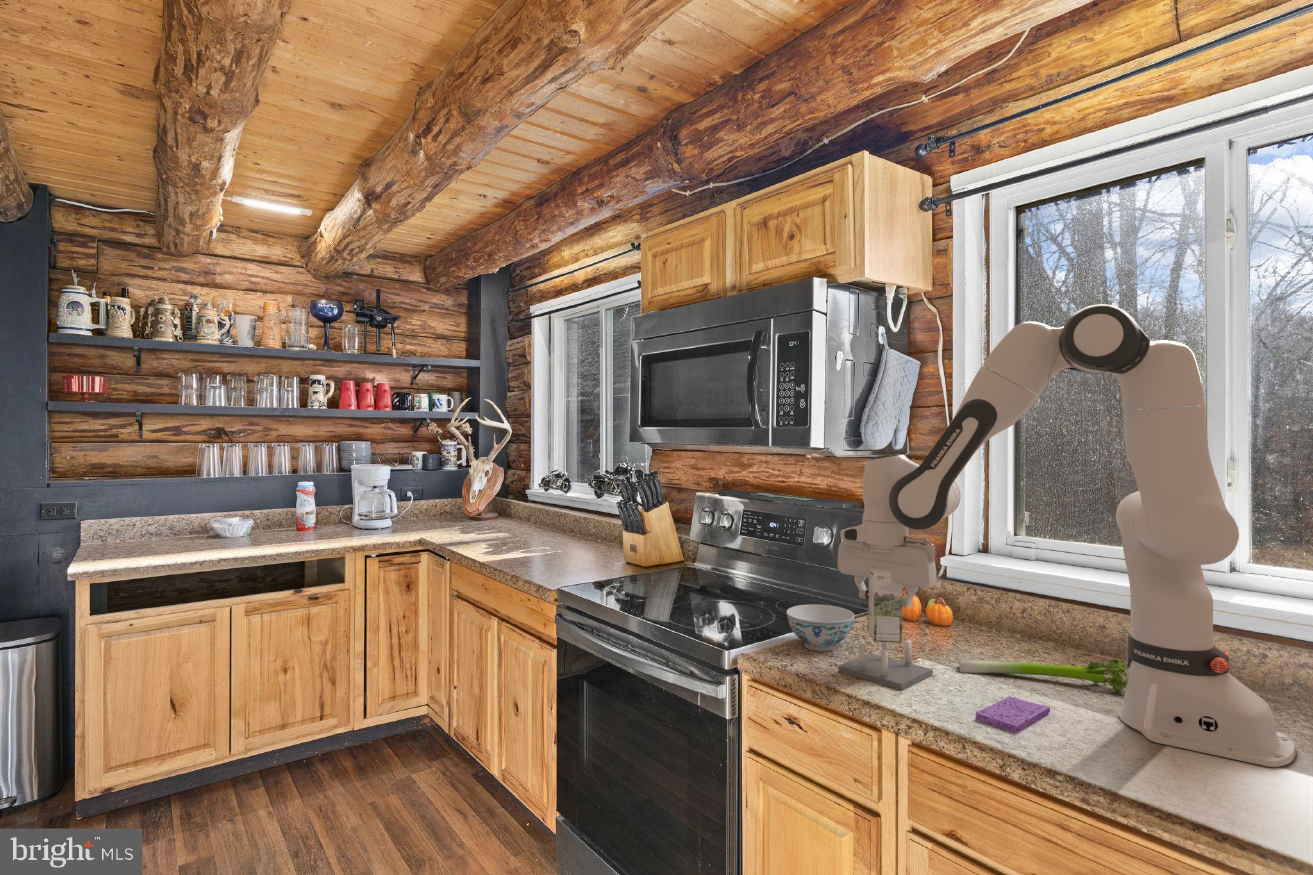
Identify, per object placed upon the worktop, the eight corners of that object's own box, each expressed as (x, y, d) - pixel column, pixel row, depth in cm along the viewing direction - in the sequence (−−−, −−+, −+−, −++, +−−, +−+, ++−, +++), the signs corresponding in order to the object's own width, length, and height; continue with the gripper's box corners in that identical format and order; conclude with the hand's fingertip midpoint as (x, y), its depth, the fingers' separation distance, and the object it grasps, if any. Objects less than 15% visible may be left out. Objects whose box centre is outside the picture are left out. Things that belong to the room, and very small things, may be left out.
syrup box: (896, 635, 144) (896, 564, 144) (903, 643, 138) (902, 570, 138) (868, 634, 144) (867, 564, 144) (873, 642, 138) (873, 569, 138)
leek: (960, 674, 147) (1130, 683, 134) (960, 690, 140) (1138, 701, 128) (958, 646, 146) (1128, 653, 134) (957, 661, 140) (1136, 669, 127)
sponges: (975, 722, 119) (975, 711, 119) (1009, 704, 127) (1009, 694, 127) (1017, 736, 114) (1017, 725, 114) (1050, 716, 121) (1050, 705, 121)
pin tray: (932, 675, 140) (932, 644, 140) (902, 690, 132) (902, 658, 132) (869, 658, 151) (869, 629, 150) (838, 671, 143) (838, 641, 142)
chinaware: (862, 657, 151) (862, 621, 151) (793, 657, 151) (793, 622, 151) (844, 636, 166) (844, 604, 166) (781, 636, 166) (781, 604, 166)
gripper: (942, 538, 135) (942, 609, 136) (850, 527, 150) (850, 591, 151) (927, 541, 131) (926, 615, 131) (833, 530, 146) (833, 596, 146)
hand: (885, 602), depth 141 cm, fingers closed on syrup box, 8 cm apart
